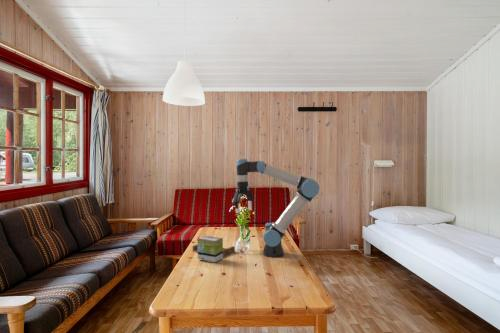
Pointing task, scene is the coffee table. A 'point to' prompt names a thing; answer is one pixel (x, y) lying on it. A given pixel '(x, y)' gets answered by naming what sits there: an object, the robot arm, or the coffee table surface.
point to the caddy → (225, 251)
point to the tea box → (210, 248)
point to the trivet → (210, 261)
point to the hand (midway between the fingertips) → (243, 211)
